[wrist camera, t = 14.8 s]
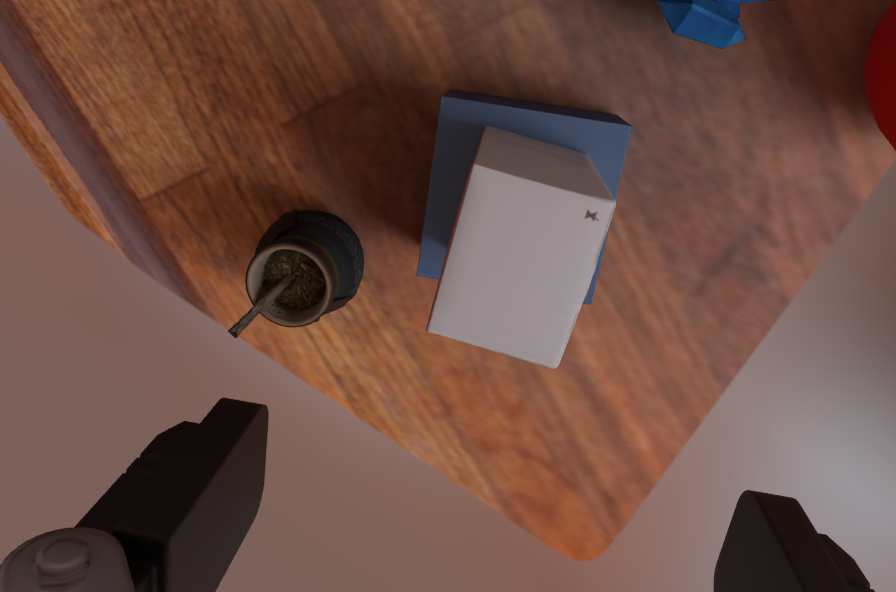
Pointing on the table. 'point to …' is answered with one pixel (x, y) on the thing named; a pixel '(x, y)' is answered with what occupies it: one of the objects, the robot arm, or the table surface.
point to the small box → (522, 248)
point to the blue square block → (547, 123)
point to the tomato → (883, 75)
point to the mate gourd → (302, 270)
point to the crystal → (706, 20)
